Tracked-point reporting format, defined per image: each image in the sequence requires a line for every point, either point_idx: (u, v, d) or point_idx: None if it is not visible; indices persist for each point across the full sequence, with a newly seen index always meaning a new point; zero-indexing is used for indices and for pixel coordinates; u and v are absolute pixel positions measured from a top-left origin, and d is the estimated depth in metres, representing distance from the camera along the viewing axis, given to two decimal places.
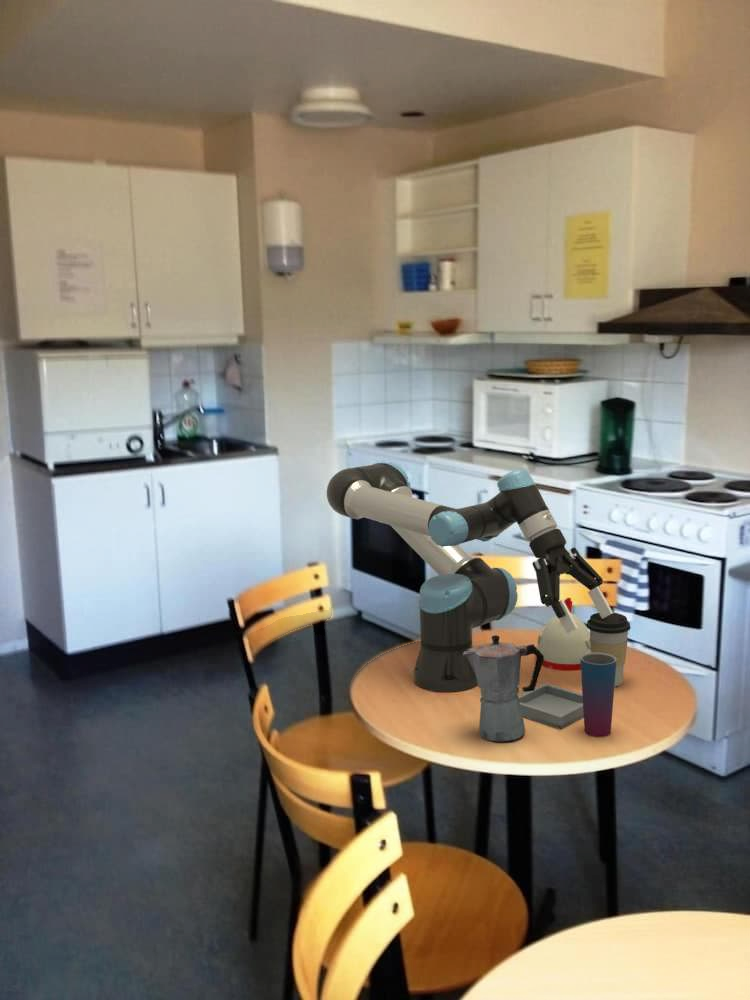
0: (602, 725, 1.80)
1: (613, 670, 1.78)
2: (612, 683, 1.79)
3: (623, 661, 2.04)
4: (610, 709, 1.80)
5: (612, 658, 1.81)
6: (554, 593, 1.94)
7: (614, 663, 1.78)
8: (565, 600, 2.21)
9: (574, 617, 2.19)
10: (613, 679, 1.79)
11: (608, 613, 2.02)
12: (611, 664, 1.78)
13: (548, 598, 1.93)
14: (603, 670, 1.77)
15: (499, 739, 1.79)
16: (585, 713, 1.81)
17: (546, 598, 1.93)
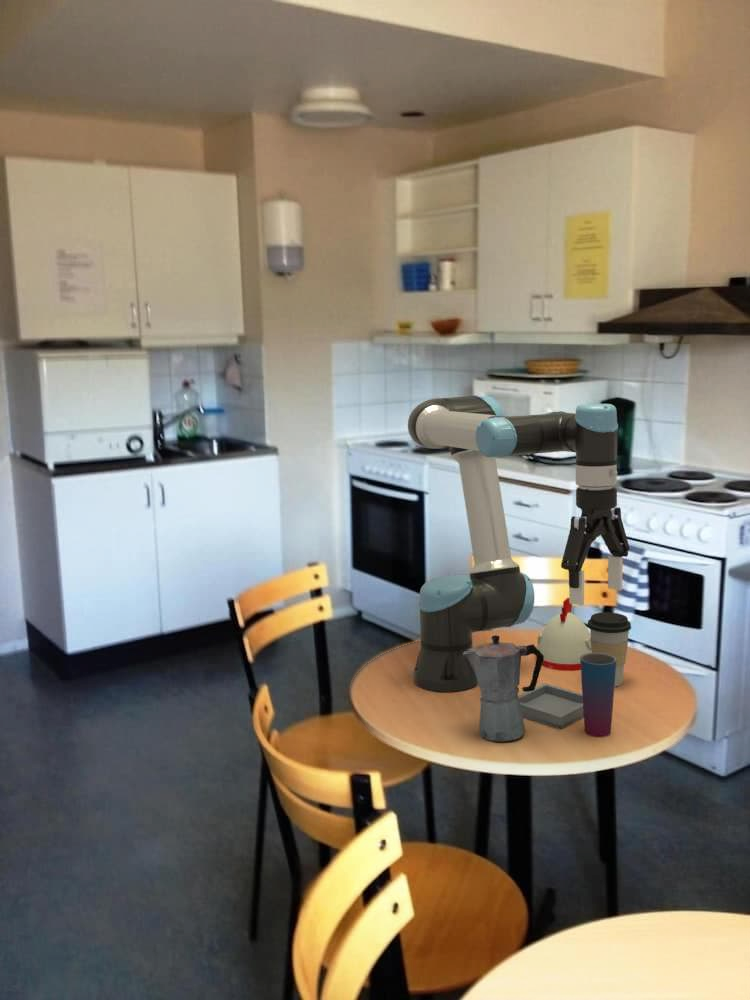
0: (602, 725, 1.80)
1: (613, 670, 1.78)
2: (612, 683, 1.79)
3: (623, 661, 2.05)
4: (610, 709, 1.80)
5: (612, 658, 1.81)
6: (579, 562, 1.71)
7: (614, 663, 1.78)
8: (565, 600, 2.21)
9: (574, 617, 2.19)
10: (613, 679, 1.79)
11: (617, 588, 1.83)
12: (611, 664, 1.78)
13: (570, 567, 1.70)
14: (603, 670, 1.77)
15: (499, 739, 1.79)
16: (585, 713, 1.81)
17: (568, 566, 1.70)
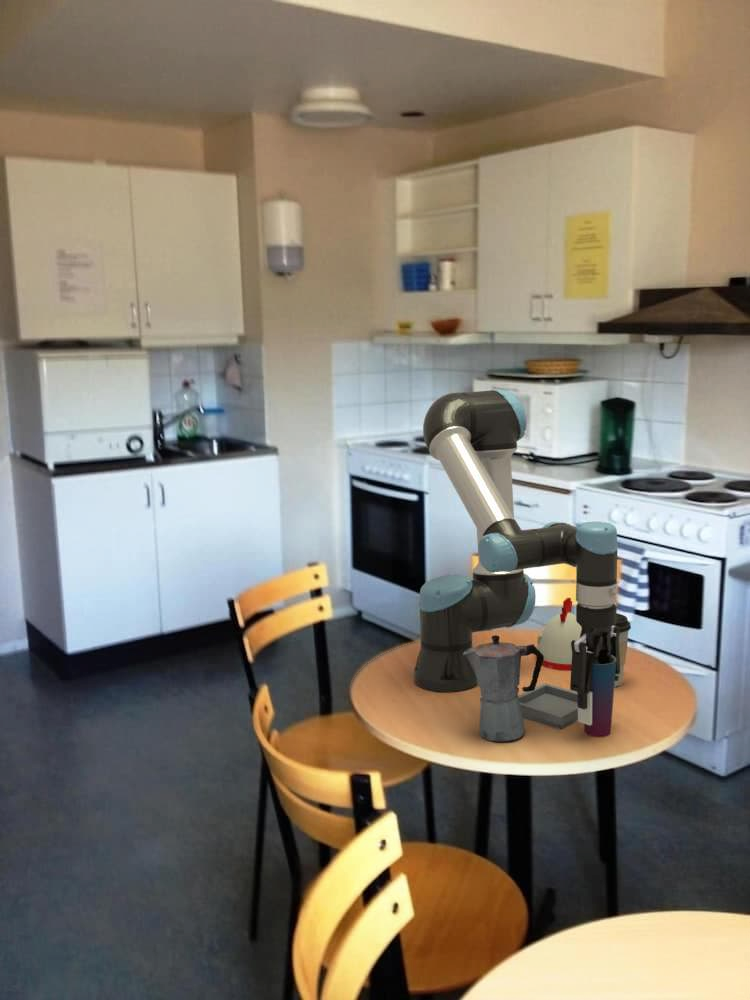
0: (601, 726, 1.80)
1: (613, 670, 1.78)
2: (612, 683, 1.79)
3: (623, 661, 2.05)
4: (610, 709, 1.80)
5: (612, 658, 1.81)
6: (586, 685, 1.77)
7: (614, 663, 1.78)
8: (565, 600, 2.21)
9: (574, 617, 2.19)
10: (613, 679, 1.79)
11: None
12: (611, 664, 1.78)
13: (579, 691, 1.76)
14: (603, 670, 1.77)
15: (499, 739, 1.79)
16: None
17: (577, 690, 1.76)
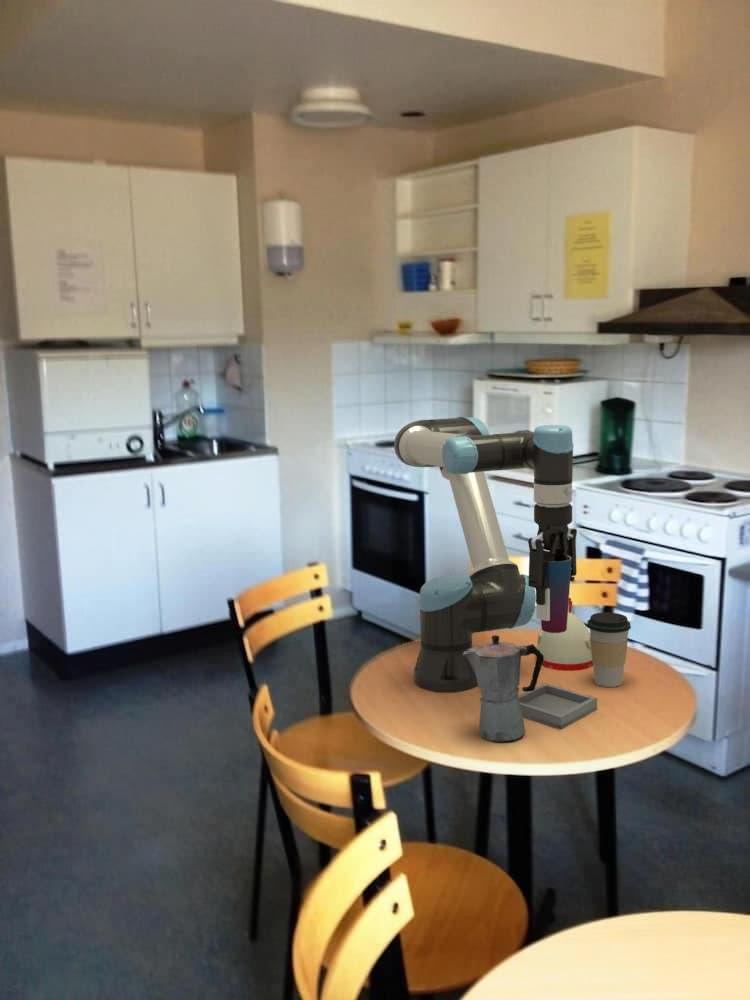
0: (557, 622, 1.87)
1: (568, 568, 1.86)
2: (567, 580, 1.86)
3: (623, 661, 2.05)
4: (565, 606, 1.87)
5: (568, 558, 1.88)
6: (543, 582, 1.85)
7: (569, 561, 1.85)
8: None
9: (574, 617, 2.19)
10: (568, 577, 1.86)
11: None
12: (566, 562, 1.85)
13: (536, 587, 1.83)
14: (558, 567, 1.84)
15: (499, 739, 1.79)
16: None
17: (535, 585, 1.84)
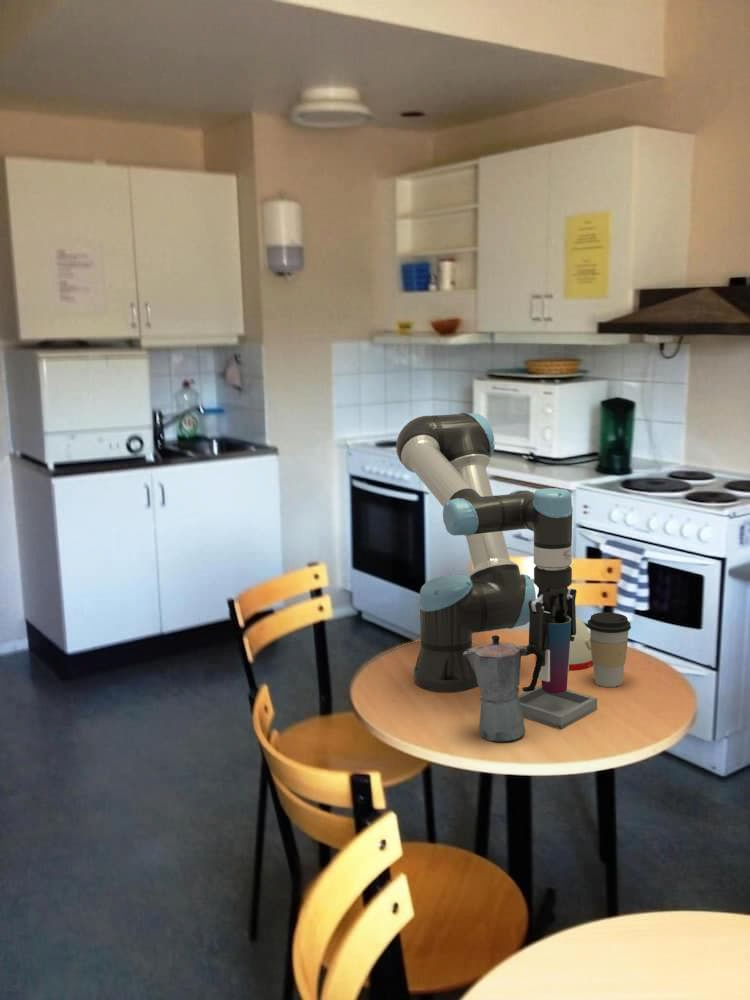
0: (557, 682, 1.89)
1: (568, 629, 1.88)
2: (567, 642, 1.88)
3: (623, 661, 2.05)
4: (565, 667, 1.89)
5: (568, 619, 1.90)
6: (544, 643, 1.87)
7: (569, 623, 1.88)
8: None
9: None
10: (568, 638, 1.88)
11: None
12: (566, 623, 1.87)
13: (537, 649, 1.86)
14: (558, 629, 1.87)
15: (499, 739, 1.79)
16: None
17: None
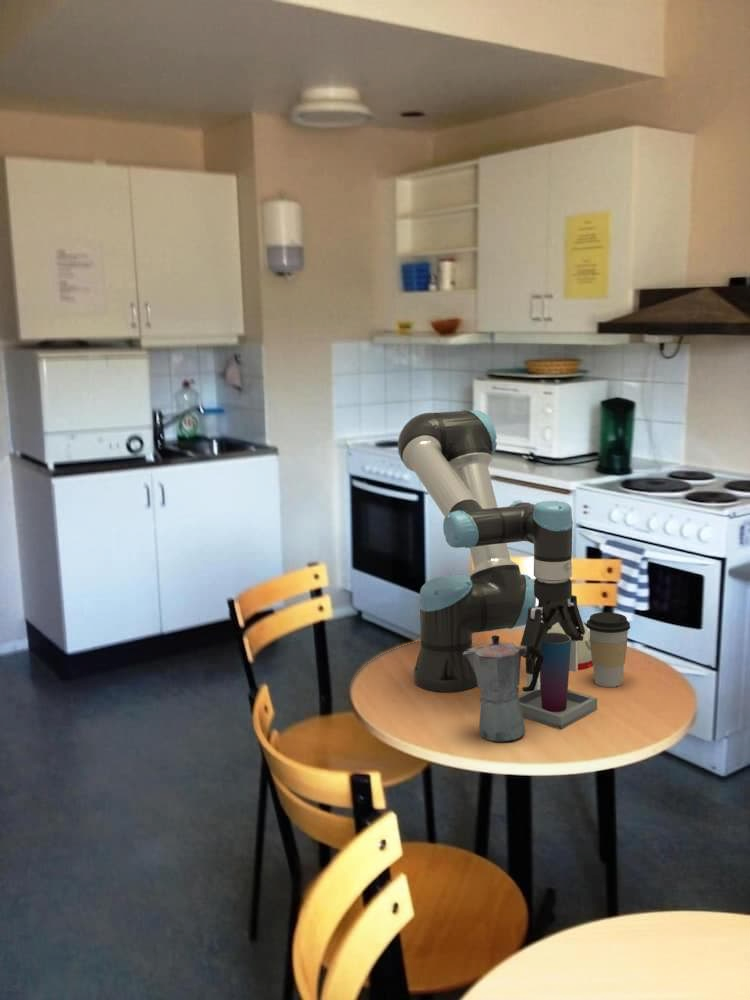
0: (557, 701, 1.90)
1: (568, 649, 1.89)
2: (567, 661, 1.89)
3: (623, 661, 2.05)
4: (565, 686, 1.90)
5: (567, 638, 1.91)
6: None
7: (569, 642, 1.89)
8: None
9: None
10: (568, 657, 1.89)
11: (573, 669, 1.96)
12: (566, 643, 1.88)
13: (526, 656, 1.83)
14: (558, 648, 1.88)
15: (499, 739, 1.79)
16: (542, 690, 1.92)
17: None
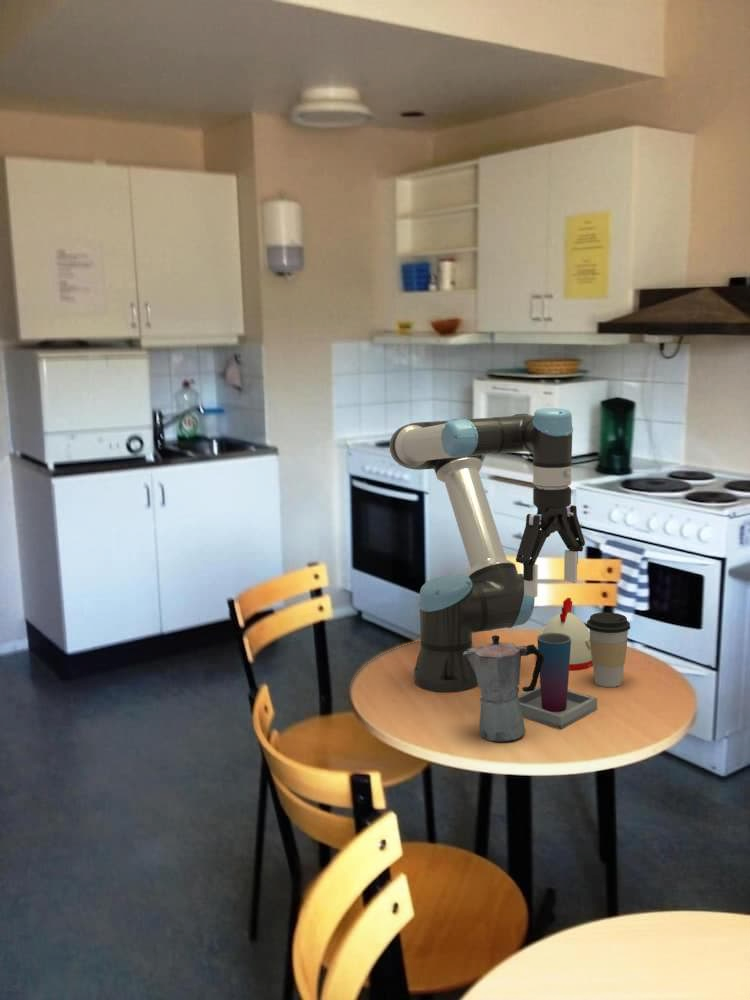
0: (557, 701, 1.90)
1: (568, 649, 1.89)
2: (567, 661, 1.89)
3: (623, 661, 2.05)
4: (565, 686, 1.90)
5: (567, 638, 1.91)
6: (532, 557, 1.84)
7: (568, 642, 1.89)
8: (565, 600, 2.21)
9: (574, 617, 2.19)
10: (568, 657, 1.89)
11: (572, 580, 1.95)
12: (565, 643, 1.88)
13: (524, 561, 1.83)
14: (558, 649, 1.88)
15: (499, 739, 1.79)
16: (542, 690, 1.92)
17: (522, 560, 1.83)
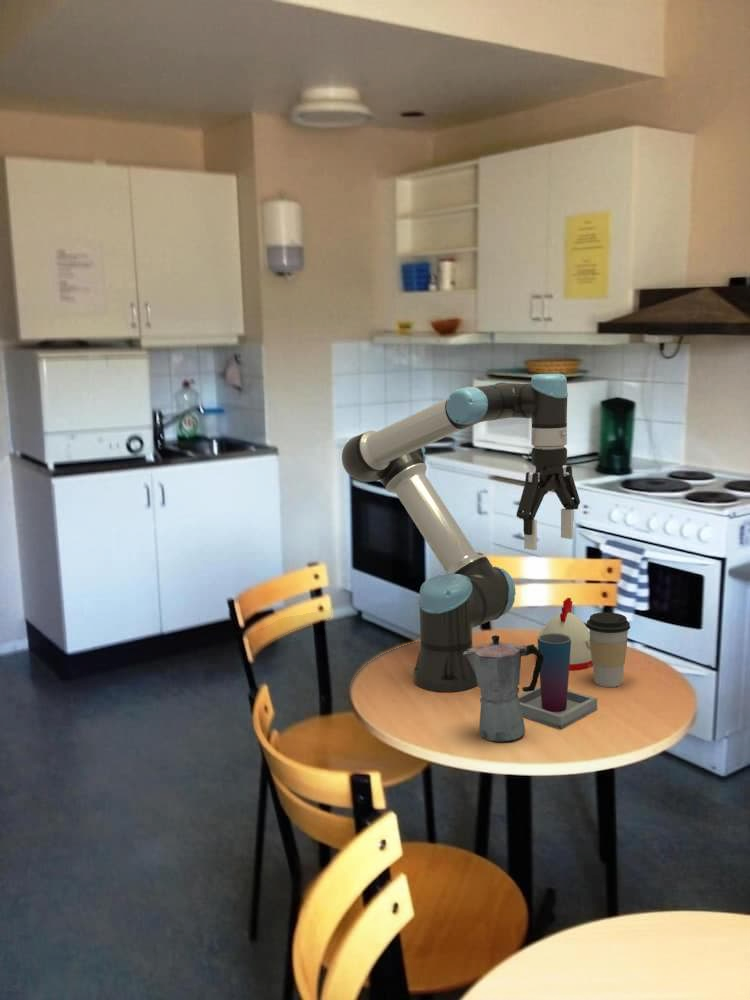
0: (557, 701, 1.90)
1: (568, 649, 1.89)
2: (567, 661, 1.89)
3: (623, 661, 2.05)
4: (565, 686, 1.90)
5: (567, 638, 1.91)
6: (532, 512, 1.96)
7: (569, 642, 1.89)
8: (565, 600, 2.21)
9: (574, 617, 2.19)
10: (568, 657, 1.89)
11: (568, 537, 2.08)
12: (566, 643, 1.88)
13: (524, 516, 1.95)
14: (558, 648, 1.88)
15: (499, 739, 1.79)
16: (542, 690, 1.92)
17: (522, 515, 1.95)
